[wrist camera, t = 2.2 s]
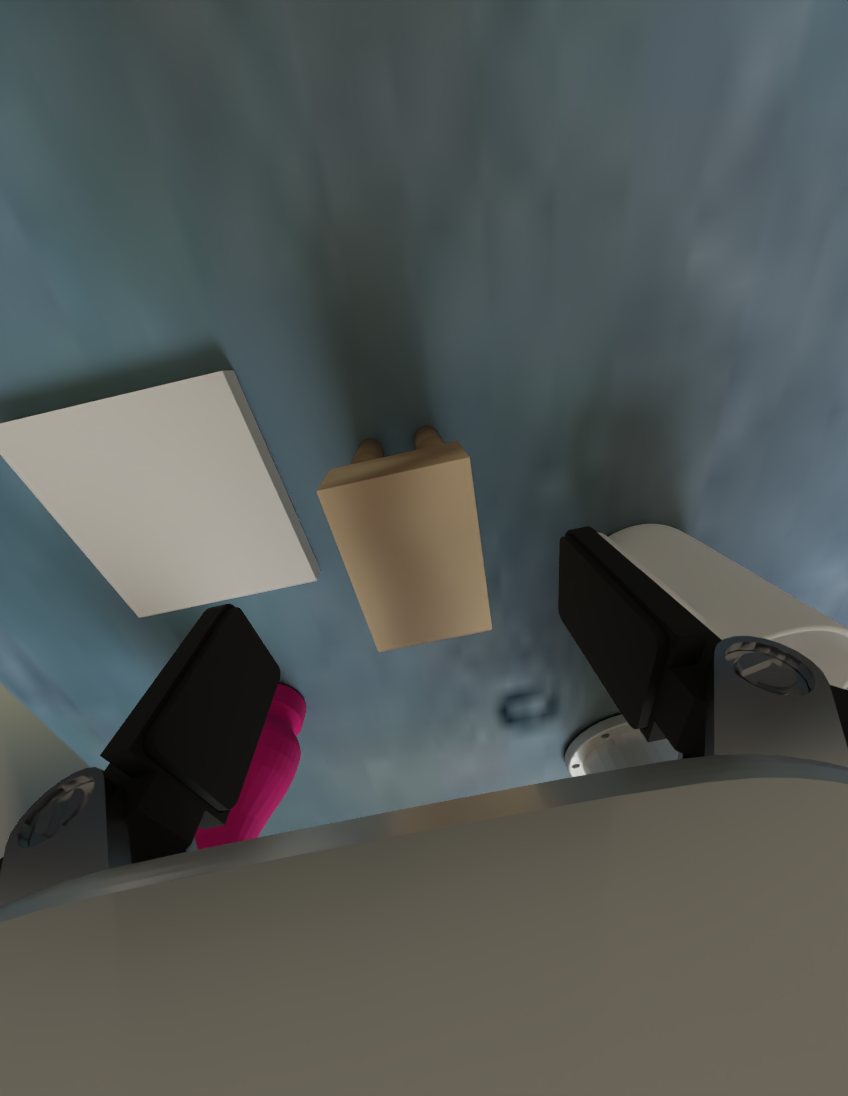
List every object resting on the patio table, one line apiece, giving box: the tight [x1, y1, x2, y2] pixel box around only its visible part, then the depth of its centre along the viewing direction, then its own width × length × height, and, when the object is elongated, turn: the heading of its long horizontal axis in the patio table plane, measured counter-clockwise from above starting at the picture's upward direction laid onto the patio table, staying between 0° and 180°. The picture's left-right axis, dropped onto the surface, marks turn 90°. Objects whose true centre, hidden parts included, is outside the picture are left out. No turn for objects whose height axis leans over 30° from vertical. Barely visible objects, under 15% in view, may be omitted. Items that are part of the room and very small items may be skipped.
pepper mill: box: [194, 683, 306, 850], centre depth 19 cm, size 7×7×20 cm
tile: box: [0, 370, 321, 618], centre depth 19 cm, size 12×12×1 cm
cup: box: [597, 524, 848, 689], centre depth 19 cm, size 8×12×10 cm
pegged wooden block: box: [316, 426, 492, 652], centre depth 16 cm, size 5×8×8 cm, turn 12°
